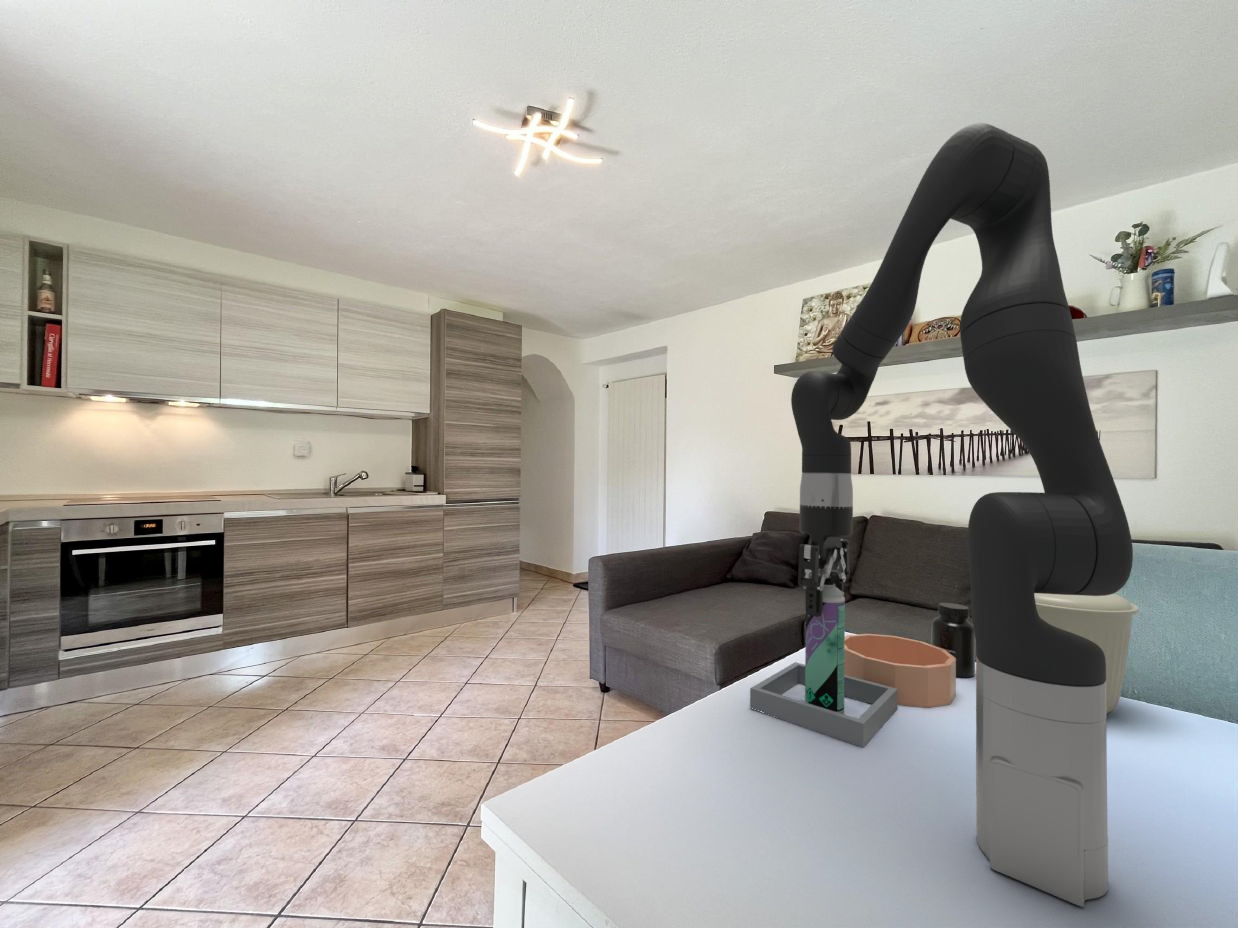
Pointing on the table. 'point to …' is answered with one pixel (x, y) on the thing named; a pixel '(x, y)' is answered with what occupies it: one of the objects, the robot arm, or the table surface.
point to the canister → (1095, 629)
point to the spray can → (826, 651)
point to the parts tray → (819, 718)
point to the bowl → (903, 668)
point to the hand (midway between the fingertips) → (825, 610)
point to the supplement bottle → (955, 636)
